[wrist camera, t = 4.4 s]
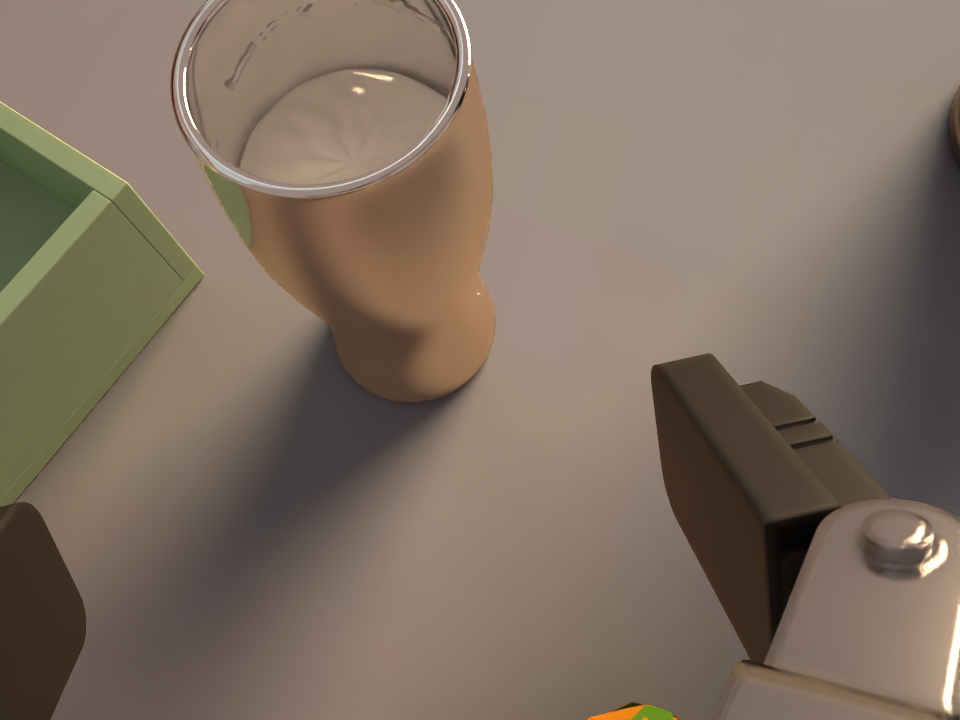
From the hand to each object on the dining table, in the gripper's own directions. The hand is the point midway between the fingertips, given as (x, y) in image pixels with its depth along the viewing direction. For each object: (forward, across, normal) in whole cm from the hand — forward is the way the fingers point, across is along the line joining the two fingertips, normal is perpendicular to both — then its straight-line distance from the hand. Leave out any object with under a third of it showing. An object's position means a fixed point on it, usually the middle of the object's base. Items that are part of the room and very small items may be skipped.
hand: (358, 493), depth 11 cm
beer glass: (+21, 0, +6) cm, 22 cm away
